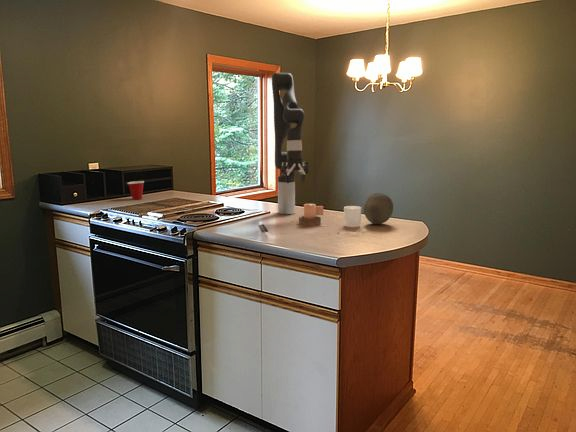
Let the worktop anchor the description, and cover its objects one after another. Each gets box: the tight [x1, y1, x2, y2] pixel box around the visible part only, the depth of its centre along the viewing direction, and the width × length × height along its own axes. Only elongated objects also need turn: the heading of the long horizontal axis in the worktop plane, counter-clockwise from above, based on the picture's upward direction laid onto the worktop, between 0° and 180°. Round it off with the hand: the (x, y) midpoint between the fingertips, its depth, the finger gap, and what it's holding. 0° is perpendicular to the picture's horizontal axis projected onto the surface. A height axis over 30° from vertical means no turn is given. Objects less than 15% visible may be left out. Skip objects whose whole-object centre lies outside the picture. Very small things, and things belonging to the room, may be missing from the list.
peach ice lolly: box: [303, 203, 324, 219], centre depth 213 cm, size 9×6×9 cm, turn 100°
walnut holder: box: [292, 215, 329, 228], centre depth 213 cm, size 14×14×4 cm
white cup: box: [343, 205, 362, 228], centre depth 208 cm, size 8×8×10 cm
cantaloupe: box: [363, 192, 394, 226], centre depth 217 cm, size 14×14×15 cm
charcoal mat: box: [258, 224, 269, 233], centre depth 211 cm, size 14×12×1 cm
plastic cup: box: [127, 180, 145, 201], centre depth 307 cm, size 11×11×12 cm
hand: (295, 182), depth 229 cm, fingers open, 8 cm apart
